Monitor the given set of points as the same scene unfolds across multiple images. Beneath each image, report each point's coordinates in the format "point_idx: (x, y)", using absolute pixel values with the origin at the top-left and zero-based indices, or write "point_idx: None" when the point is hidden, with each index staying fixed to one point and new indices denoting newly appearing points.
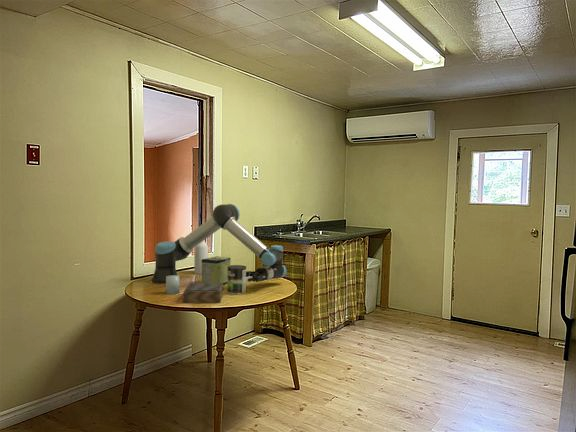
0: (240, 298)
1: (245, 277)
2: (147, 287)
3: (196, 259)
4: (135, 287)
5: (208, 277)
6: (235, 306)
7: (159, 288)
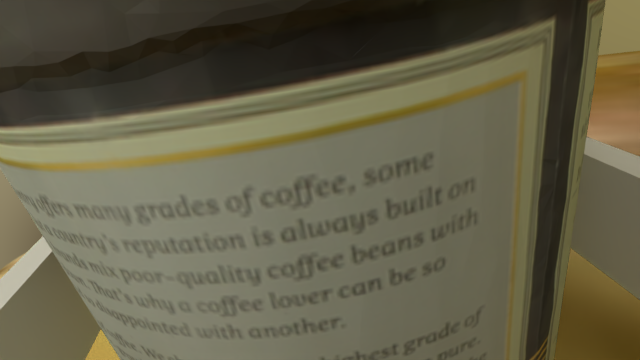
0: (95, 347)
1: (15, 278)
2: (631, 68)
3: None
4: (625, 56)
5: None
6: (17, 259)
7: (608, 85)
